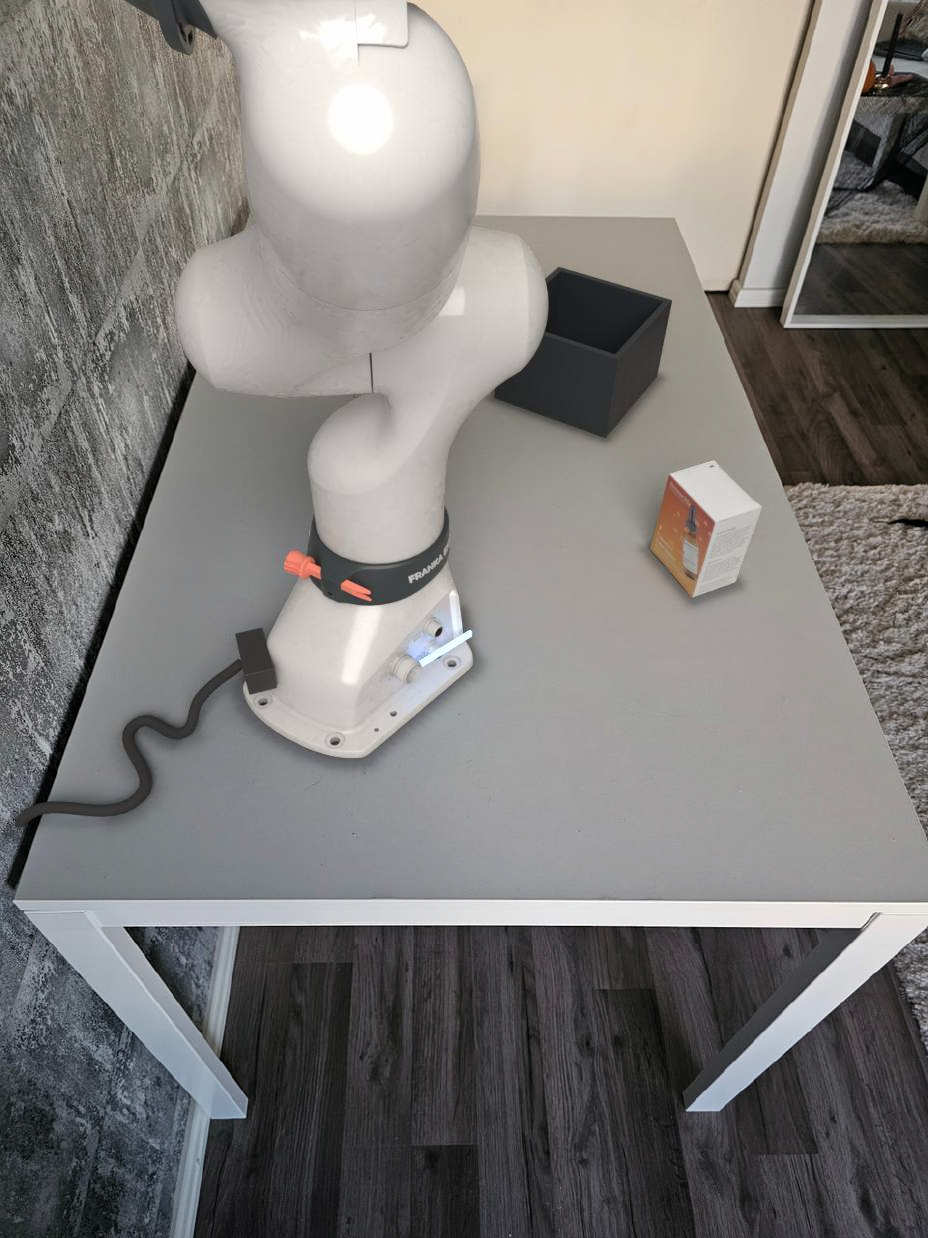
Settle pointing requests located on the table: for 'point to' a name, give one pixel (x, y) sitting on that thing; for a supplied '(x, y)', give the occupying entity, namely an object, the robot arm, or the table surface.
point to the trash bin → (591, 353)
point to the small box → (704, 527)
